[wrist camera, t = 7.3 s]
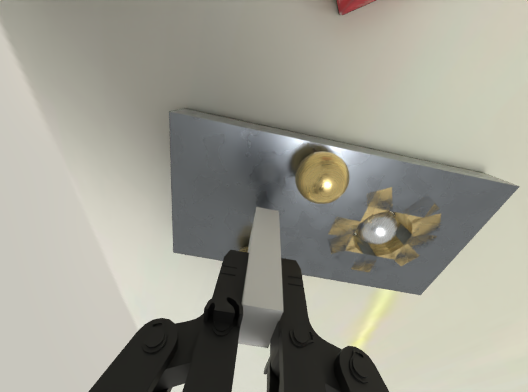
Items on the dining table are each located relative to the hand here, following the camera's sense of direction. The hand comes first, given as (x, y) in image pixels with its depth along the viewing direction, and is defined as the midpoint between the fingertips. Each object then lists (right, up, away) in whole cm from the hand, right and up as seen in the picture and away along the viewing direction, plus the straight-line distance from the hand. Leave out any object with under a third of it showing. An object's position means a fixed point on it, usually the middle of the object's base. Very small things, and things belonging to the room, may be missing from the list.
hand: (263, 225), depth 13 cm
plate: (+5, +1, +5) cm, 7 cm away
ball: (+4, +3, -1) cm, 5 cm away
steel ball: (+9, 0, +3) cm, 10 cm away
